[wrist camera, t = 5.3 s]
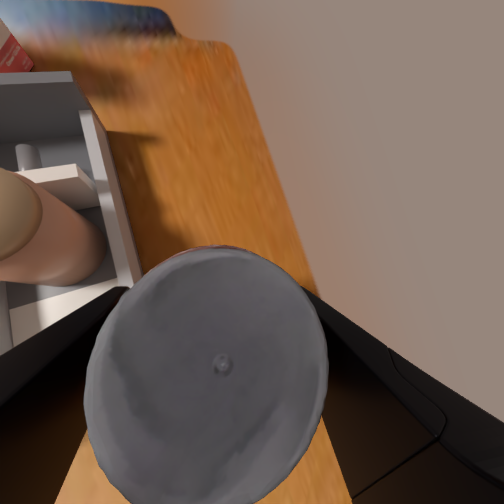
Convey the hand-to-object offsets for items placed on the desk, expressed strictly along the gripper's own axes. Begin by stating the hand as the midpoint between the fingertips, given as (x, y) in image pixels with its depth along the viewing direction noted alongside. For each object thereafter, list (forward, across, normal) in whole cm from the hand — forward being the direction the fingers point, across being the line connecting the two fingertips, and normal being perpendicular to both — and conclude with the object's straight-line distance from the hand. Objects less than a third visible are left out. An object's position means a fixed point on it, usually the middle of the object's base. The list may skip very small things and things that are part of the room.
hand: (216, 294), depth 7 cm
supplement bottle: (+4, 0, +6) cm, 7 cm away
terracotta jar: (+12, +14, +5) cm, 19 cm away
